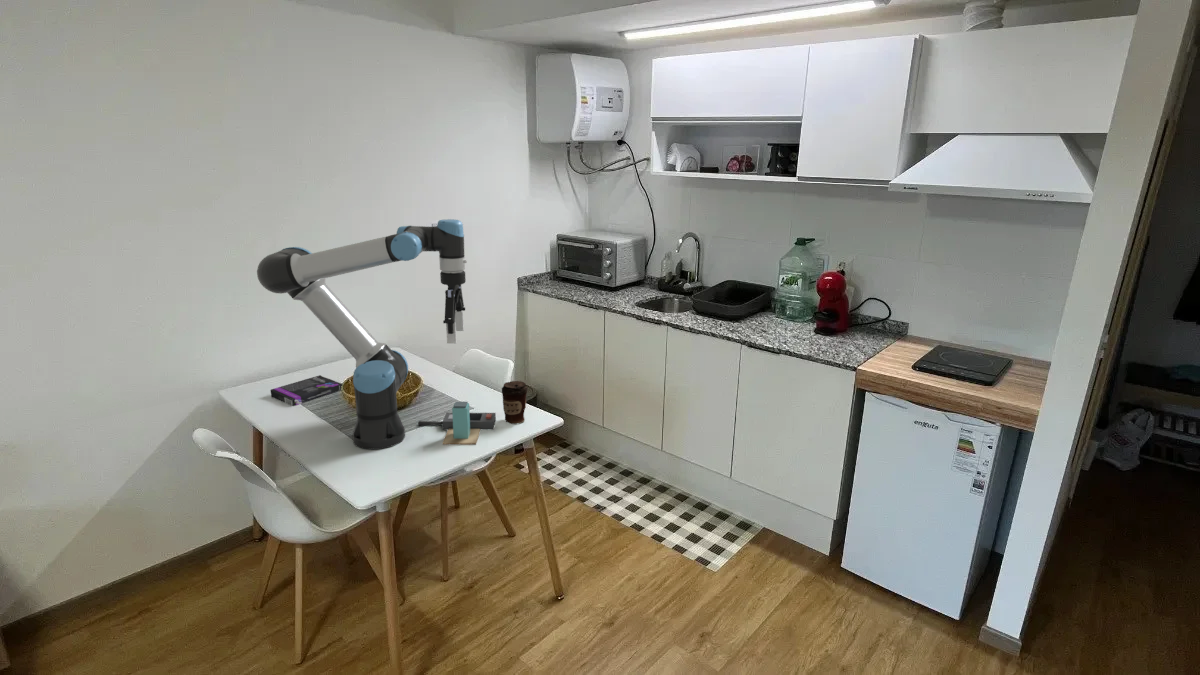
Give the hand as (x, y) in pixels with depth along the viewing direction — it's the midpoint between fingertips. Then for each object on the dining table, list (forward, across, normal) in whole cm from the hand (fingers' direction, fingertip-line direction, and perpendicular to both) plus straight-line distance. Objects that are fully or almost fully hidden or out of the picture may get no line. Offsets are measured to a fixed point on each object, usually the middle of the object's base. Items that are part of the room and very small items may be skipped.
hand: (455, 336), depth 199 cm
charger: (+28, -13, -3) cm, 31 cm away
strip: (+29, -4, 0) cm, 29 cm away
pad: (+29, -13, -3) cm, 32 cm away
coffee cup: (+29, 0, -18) cm, 34 cm away
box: (+29, +23, +58) cm, 69 cm away
